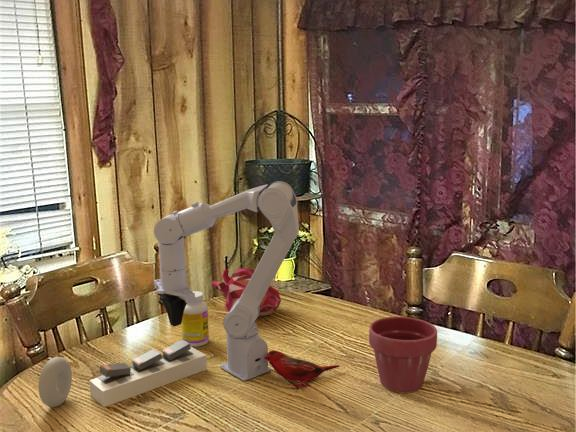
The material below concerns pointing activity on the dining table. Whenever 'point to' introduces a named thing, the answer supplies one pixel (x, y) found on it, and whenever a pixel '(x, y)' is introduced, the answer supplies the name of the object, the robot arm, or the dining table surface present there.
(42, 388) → the grey round disc
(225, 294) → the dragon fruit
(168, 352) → the block
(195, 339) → the supplement bottle
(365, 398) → the dining table surface
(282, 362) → the decorative bird figurine
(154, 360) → the rocker
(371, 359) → the dining table surface
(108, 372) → the rocker
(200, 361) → the rocker switch panel
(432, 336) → the plant pot
